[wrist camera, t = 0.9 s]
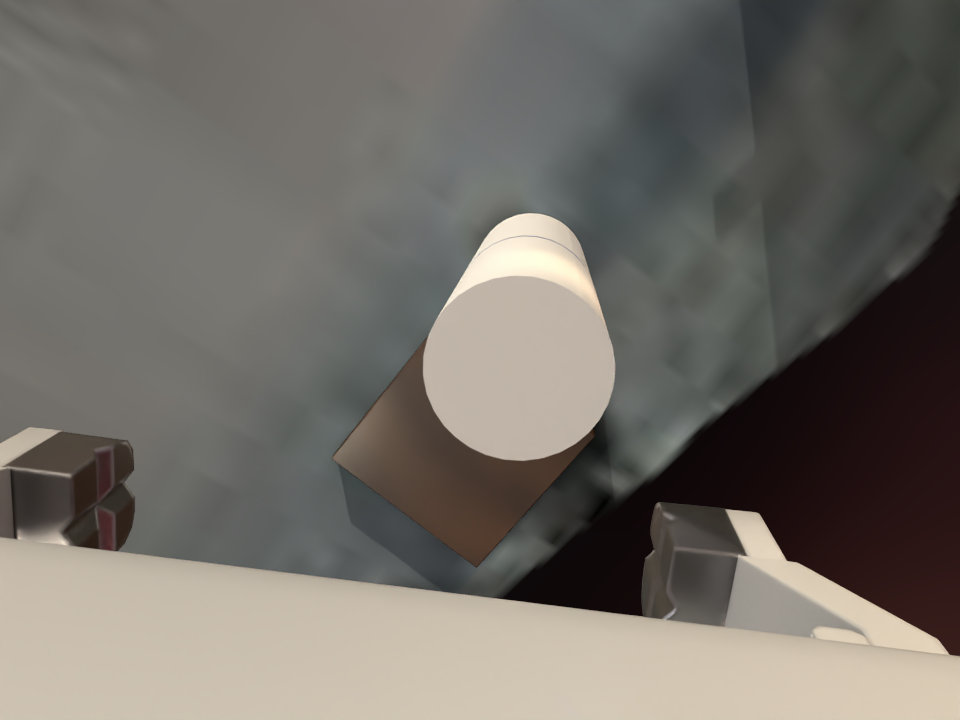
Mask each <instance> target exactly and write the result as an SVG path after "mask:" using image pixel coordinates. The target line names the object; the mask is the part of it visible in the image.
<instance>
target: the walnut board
mask: <svg viewBox="0 0 960 720" xmlns="http://www.w3.org/2000/svg"><path fill="white" fill-rule="evenodd" d="M428 336H429V335H428ZM427 338H428V337H427ZM427 338H426V339H425V340H424V342H423V343H422V344H421V345H420V347H419V348H418V349H417V350H416V352H415V353H414V354H413V355H412V357H411V358H410V359H409V360H408V362H407V363H406V364H405V365H404V367H403V368H402V369H401V370H400V372H399V373H398V374H397V375H396V377H395V378H394V379H393V381H392V382H391V383H390V384H389V386H388V387H387V388H386V389H385V391H384V392H383V393H382V394H381V396H380V397H379V398H378V399H377V401H376V402H375V403H374V404H373V406H372V407H371V408H370V409H369V411H368V412H367V413H366V414H365V416H364V417H363V418H362V419H361V421H360V422H359V423H358V424H357V426H356V427H355V428H354V429H353V431H352V432H351V433H350V434H349V436H348V437H347V438H346V439H345V441H344V442H343V443H342V444H341V446H340V447H339V448H338V449H337V451H336V452H335V453H334V455H333V456H332V460H334V461H335V462H336V463H338V464H339V465H340V466H342V467H343V468H344V469H346V470H347V471H348V472H350V473H351V474H352V475H354V476H355V477H356V478H358V479H359V480H360V481H362V482H363V483H364V484H366V485H367V486H368V487H370V488H371V489H373V490H374V491H375V492H377V493H378V494H379V495H381V496H382V497H383V498H385V499H386V500H387V501H389V502H390V503H391V504H393V505H394V506H395V507H397V508H398V509H399V510H401V511H402V512H403V513H405V514H406V515H407V516H409V517H410V518H411V519H413V520H414V521H415V522H417V523H418V524H419V525H421V526H422V527H423V528H425V529H426V530H427V531H429V532H430V533H431V534H433V535H434V536H435V537H437V538H438V539H439V540H441V541H442V542H443V543H445V544H446V545H447V546H449V547H450V548H451V549H453V550H454V551H455V552H457V553H458V554H459V555H461V556H462V557H463V558H465V559H466V560H467V561H469V562H470V563H471V564H473V565H474V566H475V567H478V566H479V565H480V563H481V562H482V561H483V560H484V559H485V558H486V557H487V556H488V555H489V553H490V552H491V551H492V550H493V549H494V548H495V547H496V546H497V545H498V543H499V542H500V541H501V540H502V539H503V538H504V537H505V536H506V535H507V533H508V532H509V531H510V530H511V529H512V528H513V527H514V526H515V525H516V523H517V522H518V521H519V520H520V519H521V518H522V517H523V516H524V515H525V513H526V512H527V511H528V510H529V509H530V508H531V507H532V506H533V504H534V503H535V502H536V501H537V500H538V499H539V498H540V497H541V496H542V494H543V493H544V492H545V491H546V490H547V489H548V488H549V487H550V486H551V484H552V483H553V482H554V481H555V480H556V479H557V478H558V477H559V476H560V474H561V473H562V472H563V471H564V470H565V469H566V468H567V467H568V466H569V464H570V463H571V462H572V461H573V460H574V459H575V458H576V457H577V456H578V454H579V453H580V452H581V451H582V450H583V449H584V448H585V447H586V446H587V444H588V443H589V442H590V441H591V440H592V439H593V438H594V436H595V435H594V430H593V429H591V431H590V432H589V433H588V434H587V435H585V436H584V437H583V438H582V439H581V440H579V441H578V442H577V443H576V444H574V445H572V446H571V447H569V448H567V449H565V450H563V451H562V452H560V453H557V454H554V455H551V456H548V457H545V458H541V459H533V460H526V461H518V460H504V459H500V458H496V457H492V456H488V455H485V454H483V453H481V452H479V451H476V450H474V449H472V448H470V447H468V446H467V445H466V444H464V443H463V442H461V441H460V440H459V439H457V438H456V437H455V436H454V435H453V434H452V433H451V432H450V431H449V430H448V429H447V428H446V427H445V426H444V425H443V424H442V422H441V421H440V419H439V418H438V416H437V415H436V413H435V412H434V410H433V408H432V405H431V403H430V400H429V398H428V396H427V393H426V388H425V383H424V378H423V355H424V351H425V347H426V343H427Z"/></svg>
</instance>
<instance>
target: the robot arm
mask: <svg viewBox="0 0 960 720" xmlns="http://www.w3.org/2000/svg"><path fill="white" fill-rule="evenodd" d="M133 471H134V460H133V449H132V447H131V445H130V444H129V442H128V441H127V440H119V439H112V438H105V437H97V436H90V435H82V434H75V433H67V432H64V431H61V430H51V429H41V428H30V427H29V428H27V429H26V430H24V431H22V432H20V433H18V434H17V435H15V436H13V437H11V438H9V439H8V440H6V441H4V442H2V443H0V720H960V656H953V655H949V653H948V652H947V651H946V649H945V648H944V647H943V646H942V644H941V643H940V642H939V640H938V639H936V638H934V637H932V636H931V635H929V634H927V633H925V632H923V631H921V630H920V629H918V628H916V627H914V626H912V625H910V624H909V623H907V622H905V621H903V620H901V619H899V618H898V617H896V616H894V615H892V614H890V613H889V612H887V611H885V610H883V609H881V608H879V607H878V606H876V605H874V604H872V603H870V602H868V601H867V600H865V599H863V598H861V597H859V596H857V595H856V594H853V593H852V592H850V591H848V590H846V589H845V588H843V587H841V586H839V585H837V584H836V583H834V582H832V581H830V580H828V579H826V578H825V577H823V576H820V575H819V574H817V573H815V572H814V571H812V570H810V569H808V568H806V567H804V566H802V565H801V564H799V563H796V562H789V561H787V560H786V559H785V557H784V555H783V554H782V552H781V550H780V548H779V547H778V545H777V543H776V542H775V540H774V538H773V536H772V535H771V533H770V531H769V530H768V528H767V526H766V524H765V523H764V521H763V519H762V518H761V516H760V514H758V513H755V512H746V511H736V510H725V509H724V508H714V507H704V506H693V505H683V504H672V503H662V502H659V503H658V504H657V505H656V506H655V509H654V513H653V517H652V523H651V528H650V534H651V538H652V542H653V546H654V551H653V552H652V553H651V554H650V555H649V556H648V557H647V558H646V559H645V566H644V574H643V583H642V610H643V616H644V617H640V616H632V615H624V614H615V613H608V612H600V611H592V610H584V609H576V608H568V607H560V606H552V605H543V604H536V603H527V602H520V601H511V600H504V599H496V598H488V597H479V596H471V595H463V594H455V593H447V592H439V591H431V590H423V589H415V588H407V587H399V586H391V585H383V584H375V583H366V582H358V581H350V580H342V579H334V578H326V577H318V576H310V575H302V574H294V573H286V572H278V571H270V570H261V569H253V568H245V567H237V566H229V565H221V564H213V563H205V562H197V561H189V560H181V559H173V558H165V557H157V556H148V555H140V554H132V553H124V552H117V551H118V550H119V549H120V548H121V547H122V546H123V545H124V544H125V542H126V539H127V537H128V535H129V533H130V531H131V528H132V524H133V518H134V512H135V497H134V495H133V494H132V492H131V491H130V489H129V488H128V486H127V485H126V483H125V481H126V479H127V478H128V477H129V476H130V474H131V473H132V472H133Z"/></svg>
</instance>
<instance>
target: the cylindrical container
mask: <svg viewBox="0 0 960 720" xmlns="http://www.w3.org/2000/svg"><path fill="white" fill-rule="evenodd" d="M614 376H615V361H614V353H613V347H612V344H611V340H610V337H609V334H608V331H607V327H606V324H605V321H604V318H603V314H602V311H601V308H600V305H599V301H598V298H597V295H596V292H595V288H594V285H593V282H592V279H591V275H590V272H589V269H588V266H587V263H586V259H585V256H584V253H583V250H582V248H581V245H580V243H579V241H578V239H577V238H576V236H575V235H574V233H573V232H572V231H571V230H570V229H569V228H568V227H567V226H566V225H564V224H563V223H562V222H560V221H558V220H556V219H554V218H552V217H550V216H546V215H542V214H533V213H527V214H520V215H516V216H513V217H511V218H508V219H506V220H504V221H503V222H501V223H500V224H498V225H497V226H496V227H495V228H494V229H493V230H491V231H490V233H489V234H488V235H487V237H486V238H485V240H484V241H483V243H482V245H481V246H480V248H479V250H478V251H477V253H476V255H475V256H474V258H473V260H472V261H471V263H470V264H469V266H468V268H467V270H466V271H465V273H464V274H463V276H462V278H461V279H460V281H459V283H458V284H457V286H456V288H455V289H454V291H453V293H452V294H451V296H450V298H449V299H448V301H447V303H446V304H445V306H444V308H443V309H442V311H441V313H440V314H439V316H438V318H437V319H436V321H435V323H434V325H433V327H432V330H431V332H430V334H429V336H428V338H427V343H426V347H425V351H424V355H423V378H424V383H425V388H426V393H427V396H428V398H429V400H430V403H431V405H432V408H433V410H434V412H435V413H436V415H437V416H438V418H439V419H440V421H441V422H442V424H443V425H444V426H445V427H446V428H447V429H448V430H449V431H450V432H451V433H452V434H453V435H454V436H455V437H456V438H457V439H459V440H460V441H461V442H463V443H464V444H466V445H467V446H468V447H470V448H472V449H474V450H476V451H479V452H481V453H483V454H485V455H488V456H492V457H496V458H500V459H504V460H518V461H526V460H533V459H541V458H545V457H548V456H551V455H554V454H557V453H560V452H562V451H563V450H565V449H567V448H569V447H571V446H572V445H574V444H576V443H577V442H578V441H579V440H581V439H582V438H583V437H584V436H585V435H587V434H588V433H589V432H590V431H591V429H592V428H593V427H594V426H595V425H596V423H597V422H598V421H599V420H600V418H601V416H602V414H603V413H604V411H605V409H606V407H607V405H608V403H609V400H610V396H611V393H612V390H613V387H614Z"/></svg>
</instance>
